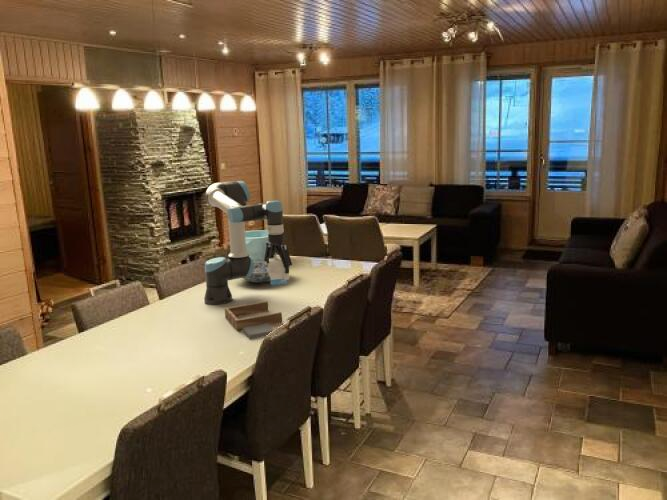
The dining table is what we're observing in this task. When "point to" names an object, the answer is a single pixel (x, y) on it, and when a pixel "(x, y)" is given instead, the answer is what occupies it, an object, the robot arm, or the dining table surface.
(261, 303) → the brown wooden shallow tray
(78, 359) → the dining table surface
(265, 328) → the plinth
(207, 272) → the robot arm
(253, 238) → the bowl
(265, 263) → the ceramic bowl
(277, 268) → the ink box
